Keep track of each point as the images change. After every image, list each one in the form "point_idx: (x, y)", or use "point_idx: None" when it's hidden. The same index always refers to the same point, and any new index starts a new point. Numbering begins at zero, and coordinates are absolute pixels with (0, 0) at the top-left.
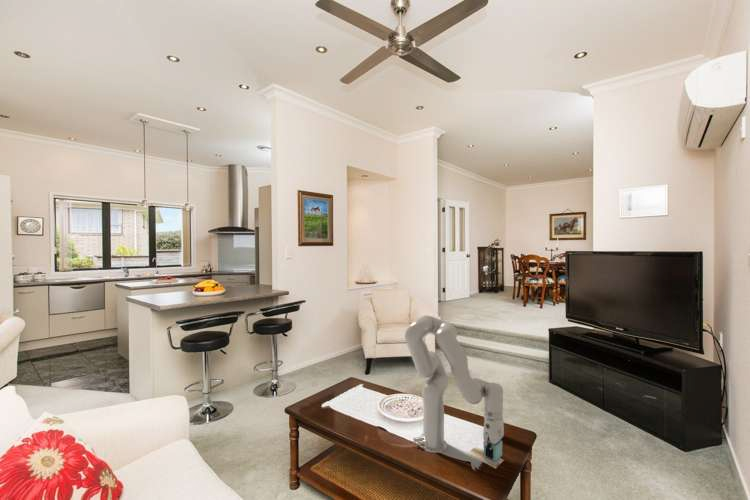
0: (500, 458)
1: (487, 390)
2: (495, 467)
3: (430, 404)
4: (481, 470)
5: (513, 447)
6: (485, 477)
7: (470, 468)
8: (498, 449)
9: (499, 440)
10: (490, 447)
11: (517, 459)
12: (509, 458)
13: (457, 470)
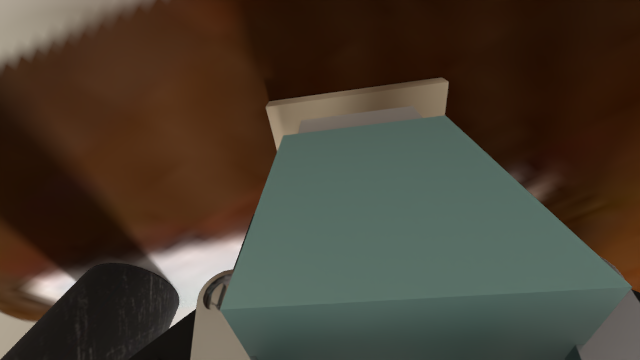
0: (305, 129)
1: None
2: (434, 91)
3: None
4: (523, 148)
5: (45, 164)
6: (611, 72)
7: (547, 204)
8: (411, 194)
9: (276, 338)
10: (627, 304)
11: (109, 41)
12: (181, 100)
13: (620, 236)
